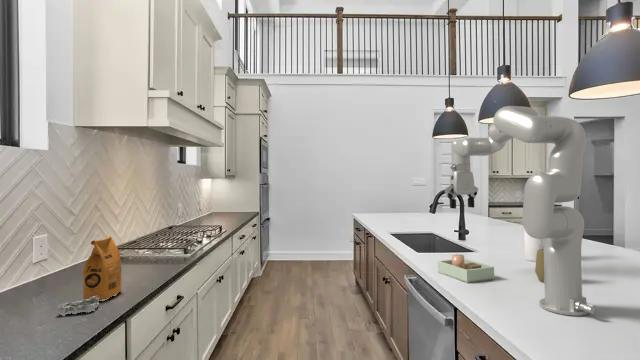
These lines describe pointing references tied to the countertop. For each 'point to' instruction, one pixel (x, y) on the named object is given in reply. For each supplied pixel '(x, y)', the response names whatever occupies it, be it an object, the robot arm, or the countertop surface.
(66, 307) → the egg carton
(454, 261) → the terracotta cylinder
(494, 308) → the countertop surface
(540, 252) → the squeeze bottle
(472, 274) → the tote
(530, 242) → the alcohol
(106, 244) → the coffee package
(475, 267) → the walnut cube
